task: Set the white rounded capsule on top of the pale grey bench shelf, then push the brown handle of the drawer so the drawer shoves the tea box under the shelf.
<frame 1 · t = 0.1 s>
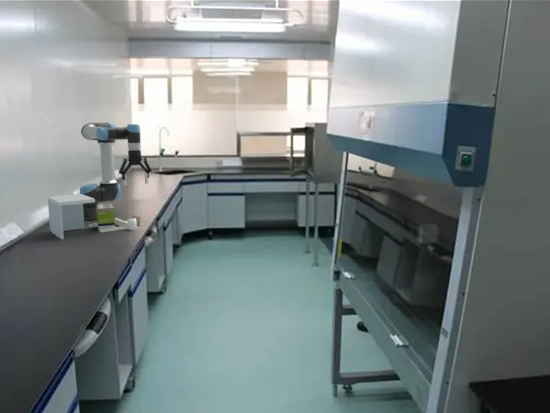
hand: (136, 184, 313), 28 cm above the worktop, fingers open, 13 cm apart
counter: (73, 233, 304), on the worktop
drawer: (116, 222, 319), point 3 cm above the worktop, slide at 19.4 cm
white rounded capsule: (132, 230, 312), on the worktop
tea box: (106, 229, 316), on the worktop
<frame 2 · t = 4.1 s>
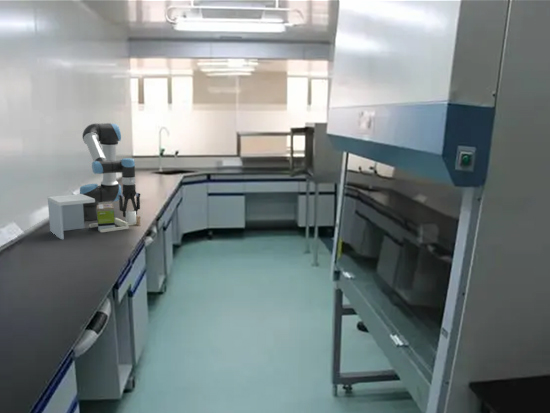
hand: (130, 221, 313), 5 cm above the worktop, fingers closed on white rounded capsule, 5 cm apart
white rounded capsule: (132, 222, 311), point 5 cm above the worktop, touching gripper
everything else where it was.
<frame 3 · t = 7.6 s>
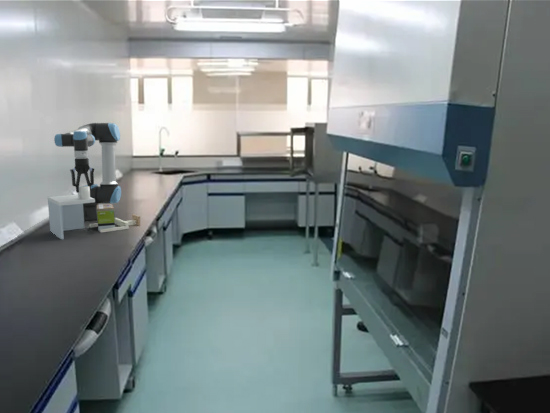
hand: (84, 197, 300), 22 cm above the worktop, fingers closed on white rounded capsule, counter, 4 cm apart
white rounded capsule: (85, 198, 298), point 22 cm above the worktop, touching gripper
everything else where it was.
when the fingers open (22 cm above the worktop, at t = 7.8 s): white rounded capsule stays where it is, resting on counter.
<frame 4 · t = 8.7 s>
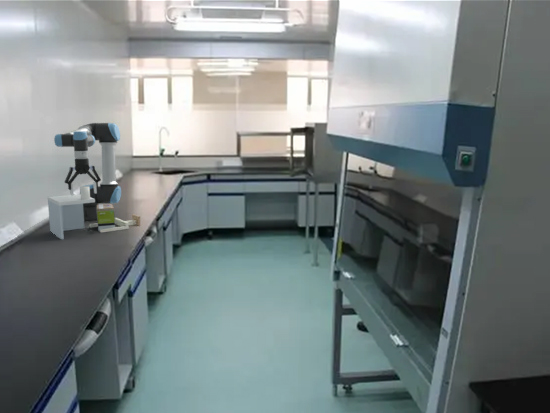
hand: (83, 194, 299), 24 cm above the worktop, fingers open, 13 cm apart
white rounded capsule: (85, 198, 298), point 22 cm above the worktop, touching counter
everything else where it was.
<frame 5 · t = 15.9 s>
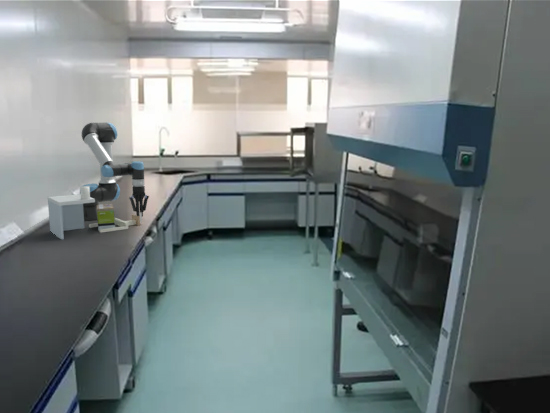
hand: (140, 221, 329), 2 cm above the worktop, fingers closed
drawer: (116, 222, 319), point 3 cm above the worktop, slide at 19.2 cm, touching gripper
everything else where it was.
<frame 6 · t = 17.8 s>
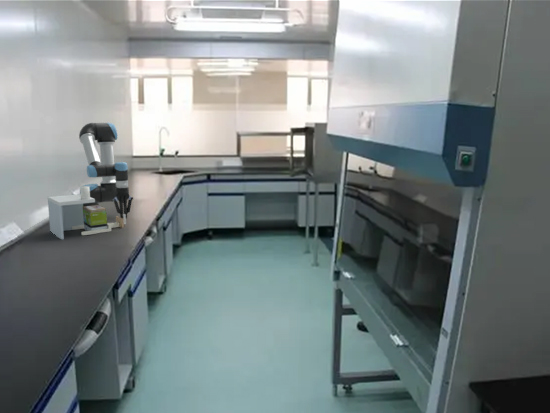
hand: (124, 223, 323), 2 cm above the worktop, fingers closed
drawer: (99, 224, 313), point 3 cm above the worktop, slide at 8.5 cm, touching gripper
tea box: (95, 231, 311), on the worktop
everything else where it was.
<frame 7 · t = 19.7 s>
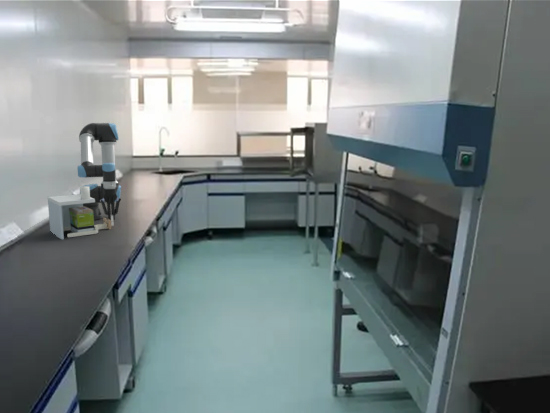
hand: (111, 225, 318), 2 cm above the worktop, fingers closed
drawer: (86, 226, 308), point 3 cm above the worktop, slide at 0.6 cm, touching gripper
tea box: (82, 233, 306), on the worktop
everything else where it was.
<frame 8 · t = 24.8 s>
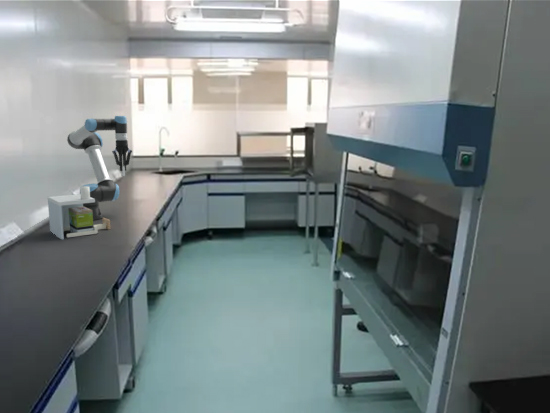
hand: (123, 175, 335), 30 cm above the worktop, fingers closed
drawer: (85, 226, 308), point 3 cm above the worktop, slide at 0.2 cm
at the end: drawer slide at 0.2 cm; tea box inside the target area (4.3 cm from its centre), on the worktop; white rounded capsule inside the target area (9.0 cm from its centre), point 21.5 cm above the worktop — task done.
